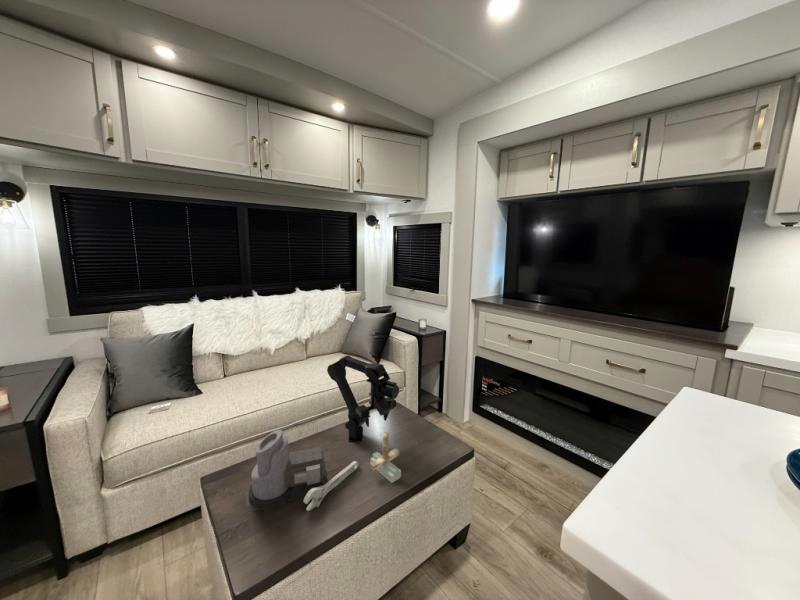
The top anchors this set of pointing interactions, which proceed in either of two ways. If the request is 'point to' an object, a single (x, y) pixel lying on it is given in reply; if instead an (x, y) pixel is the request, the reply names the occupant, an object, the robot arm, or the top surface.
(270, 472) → the juicer
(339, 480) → the wrench
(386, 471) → the ridge
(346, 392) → the robot arm
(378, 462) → the rubber stamp
